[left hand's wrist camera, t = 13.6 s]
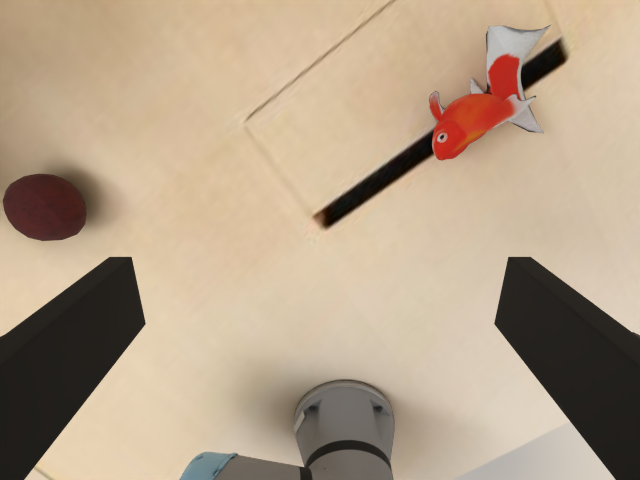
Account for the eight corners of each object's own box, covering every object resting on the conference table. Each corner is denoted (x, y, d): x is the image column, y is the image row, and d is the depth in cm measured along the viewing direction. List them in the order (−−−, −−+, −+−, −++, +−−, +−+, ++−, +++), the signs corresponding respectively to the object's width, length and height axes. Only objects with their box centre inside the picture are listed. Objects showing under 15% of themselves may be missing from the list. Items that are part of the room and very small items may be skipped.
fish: (382, 75, 34) (473, 79, 26) (491, -1, 37) (599, -17, 30) (408, 168, 40) (486, 193, 33) (498, 96, 44) (588, 104, 36)
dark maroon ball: (64, 156, 41) (15, 166, 34) (113, 210, 43) (76, 229, 37) (21, 191, 42) (-33, 207, 36) (71, 241, 45) (28, 265, 38)
